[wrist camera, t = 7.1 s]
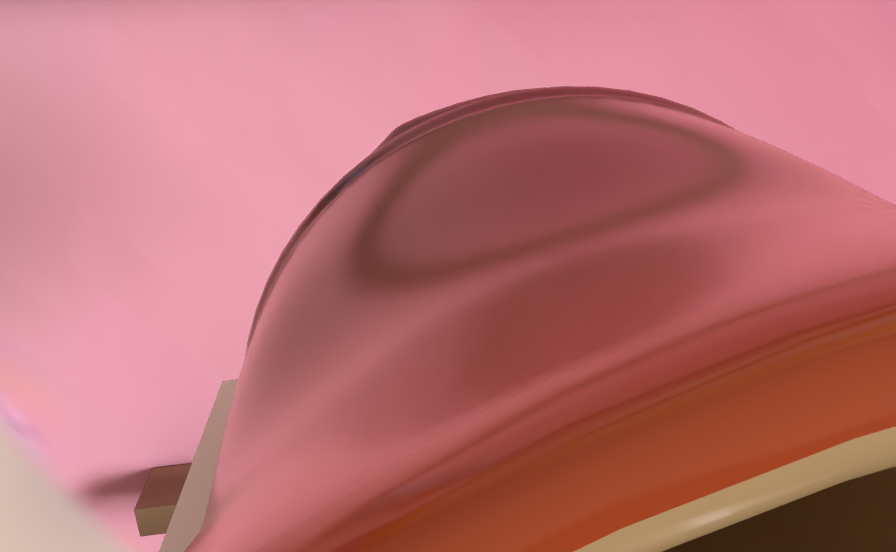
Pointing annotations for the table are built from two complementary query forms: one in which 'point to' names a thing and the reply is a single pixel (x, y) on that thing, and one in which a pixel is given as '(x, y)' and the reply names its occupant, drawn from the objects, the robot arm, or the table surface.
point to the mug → (570, 345)
